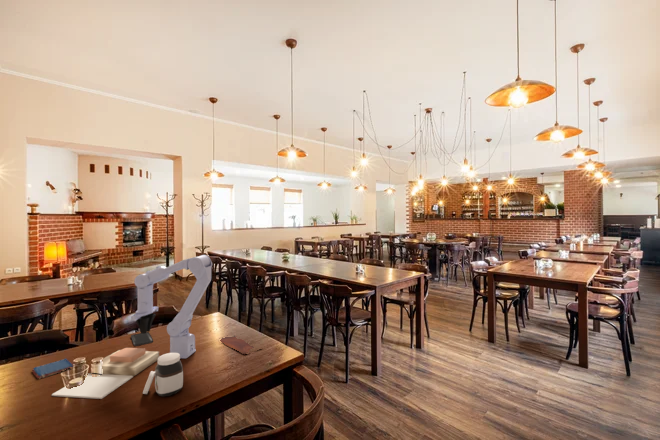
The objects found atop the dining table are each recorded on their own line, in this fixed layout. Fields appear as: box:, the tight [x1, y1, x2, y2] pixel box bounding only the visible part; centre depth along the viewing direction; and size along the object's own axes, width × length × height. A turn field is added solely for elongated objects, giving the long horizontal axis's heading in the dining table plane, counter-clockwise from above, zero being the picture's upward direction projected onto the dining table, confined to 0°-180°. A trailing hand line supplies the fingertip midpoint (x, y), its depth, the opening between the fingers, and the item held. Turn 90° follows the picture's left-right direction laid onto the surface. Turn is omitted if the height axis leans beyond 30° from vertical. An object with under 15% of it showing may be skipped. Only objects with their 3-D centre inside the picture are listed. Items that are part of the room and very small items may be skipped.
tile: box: [110, 347, 147, 362], centre depth 125 cm, size 9×8×2 cm
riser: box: [102, 349, 160, 377], centre depth 124 cm, size 18×14×3 cm
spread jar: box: [142, 352, 184, 397], centre depth 105 cm, size 12×11×12 cm
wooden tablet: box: [220, 336, 254, 355], centre depth 145 cm, size 27×10×2 cm, turn 48°
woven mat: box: [31, 358, 74, 380], centre depth 120 cm, size 10×11×2 cm
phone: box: [130, 331, 154, 347], centre depth 151 cm, size 8×1×15 cm
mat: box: [51, 372, 134, 400], centre depth 109 cm, size 18×14×1 cm
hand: (145, 332), depth 135 cm, fingers closed
